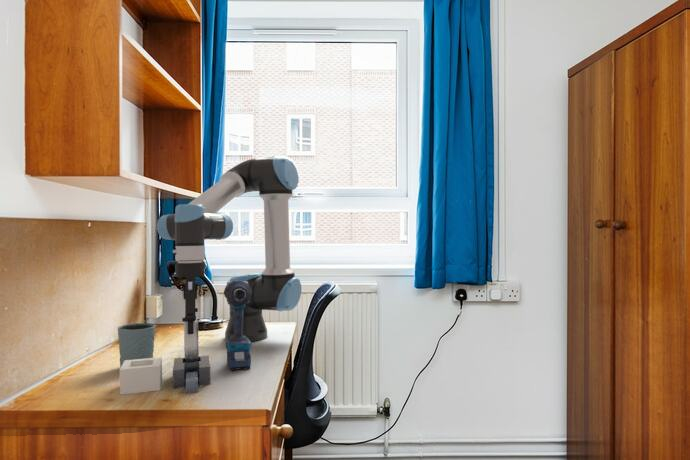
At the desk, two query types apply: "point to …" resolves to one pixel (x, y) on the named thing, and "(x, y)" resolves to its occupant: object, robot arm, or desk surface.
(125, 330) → the grey-green cup
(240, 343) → the impact wrench
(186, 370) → the socket block
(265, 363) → the desk surface
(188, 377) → the blue-grey rectangular bar
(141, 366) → the block
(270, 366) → the desk surface
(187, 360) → the silver rounded rod
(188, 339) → the robot arm
